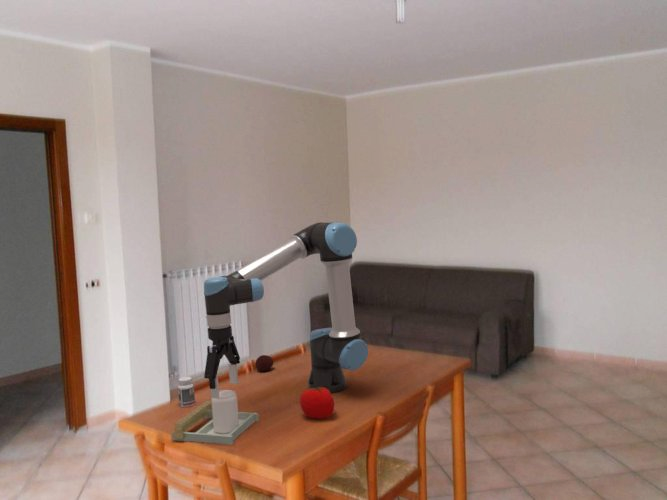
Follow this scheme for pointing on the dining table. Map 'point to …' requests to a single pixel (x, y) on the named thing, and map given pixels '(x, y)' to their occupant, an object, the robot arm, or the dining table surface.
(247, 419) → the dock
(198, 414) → the bar
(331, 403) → the tomato
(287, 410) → the dining table surface
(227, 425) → the grey cylindrical container
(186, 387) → the pill bottle
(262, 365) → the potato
